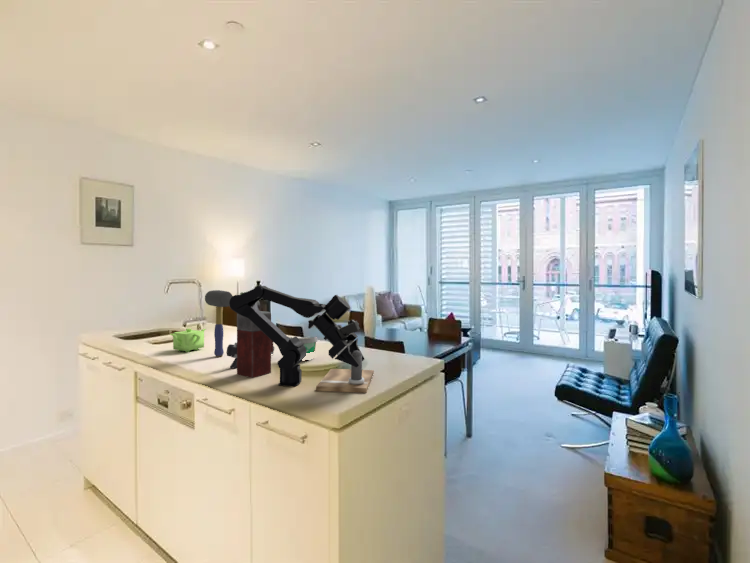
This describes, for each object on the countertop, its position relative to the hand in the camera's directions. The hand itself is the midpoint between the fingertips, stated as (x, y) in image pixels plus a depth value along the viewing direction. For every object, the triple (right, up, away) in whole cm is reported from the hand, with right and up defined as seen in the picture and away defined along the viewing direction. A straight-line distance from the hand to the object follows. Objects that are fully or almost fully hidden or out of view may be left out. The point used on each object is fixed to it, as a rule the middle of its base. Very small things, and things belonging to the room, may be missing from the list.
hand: (360, 363), depth 131 cm
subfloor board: (-5, -8, +7) cm, 12 cm away
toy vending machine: (-40, -8, +18) cm, 45 cm away
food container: (-26, -7, +40) cm, 48 cm away
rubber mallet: (-66, -7, +46) cm, 80 cm away
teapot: (-86, -6, +59) cm, 104 cm away
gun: (-47, -7, +33) cm, 58 cm away
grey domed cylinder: (-1, -7, 0) cm, 7 cm away
